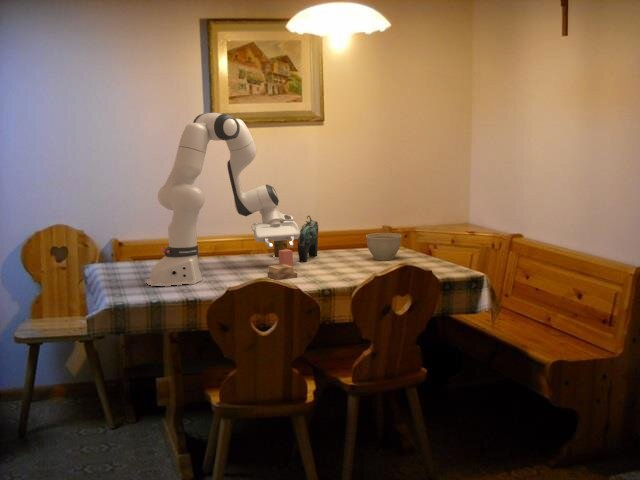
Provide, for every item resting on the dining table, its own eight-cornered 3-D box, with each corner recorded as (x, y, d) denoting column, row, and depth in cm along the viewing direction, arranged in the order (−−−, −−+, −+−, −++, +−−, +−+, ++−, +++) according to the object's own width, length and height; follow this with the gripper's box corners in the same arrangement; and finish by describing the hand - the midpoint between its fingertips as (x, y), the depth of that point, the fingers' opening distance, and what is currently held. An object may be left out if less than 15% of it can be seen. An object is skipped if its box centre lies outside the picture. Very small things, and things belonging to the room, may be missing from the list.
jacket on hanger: (309, 255, 364) (308, 213, 362) (322, 255, 362) (321, 213, 360) (295, 262, 346) (294, 218, 343) (308, 263, 344) (307, 218, 341)
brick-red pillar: (283, 272, 322) (283, 251, 320) (279, 271, 326) (278, 250, 324) (293, 271, 324) (292, 250, 323) (288, 270, 328) (287, 249, 326)
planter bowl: (358, 259, 351) (358, 235, 350) (383, 254, 362) (382, 231, 360) (384, 263, 340) (384, 239, 338) (408, 258, 350) (408, 235, 349)
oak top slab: (277, 274, 308) (276, 268, 307) (268, 272, 314) (268, 266, 314) (293, 272, 311) (293, 266, 311) (285, 270, 318) (284, 264, 317)
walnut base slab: (277, 281, 307) (277, 275, 306) (267, 278, 314) (267, 272, 314) (297, 279, 311) (297, 273, 311) (287, 275, 319) (286, 269, 319)
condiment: (290, 256, 362) (290, 231, 361) (275, 258, 358) (274, 233, 356) (282, 254, 368) (282, 229, 367) (267, 256, 364) (266, 231, 362)
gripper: (251, 219, 330) (259, 244, 322) (296, 216, 337) (304, 240, 330) (249, 228, 334) (256, 253, 327) (293, 224, 342) (301, 249, 335)
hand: (281, 247), depth 328 cm, fingers open, 8 cm apart
